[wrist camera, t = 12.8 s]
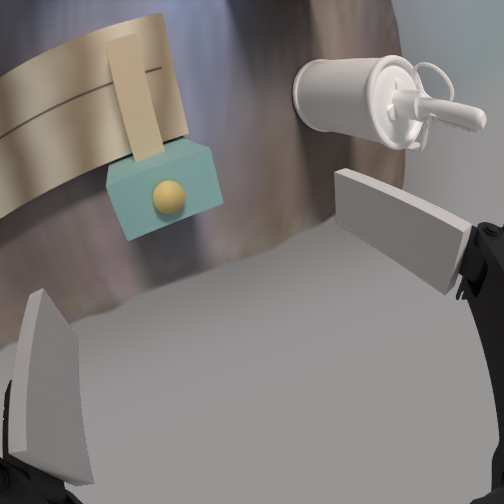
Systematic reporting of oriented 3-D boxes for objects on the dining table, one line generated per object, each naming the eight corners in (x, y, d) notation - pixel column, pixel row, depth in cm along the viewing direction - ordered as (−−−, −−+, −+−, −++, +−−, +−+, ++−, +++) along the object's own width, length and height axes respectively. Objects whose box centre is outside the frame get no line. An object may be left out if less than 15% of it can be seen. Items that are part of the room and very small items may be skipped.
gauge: (122, 199, 25) (128, 246, 17) (83, 65, 18) (64, 35, 9) (188, 173, 27) (227, 207, 19) (156, 42, 19) (182, 2, 11)
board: (-59, 257, 16) (-68, 268, 14) (-93, 166, 9) (-105, 172, 7) (182, 131, 25) (189, 133, 23) (157, 20, 18) (162, 12, 16)
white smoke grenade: (276, 88, 27) (453, 100, 11) (325, 46, 26) (485, 46, 11) (324, 153, 33) (470, 211, 18) (364, 110, 33) (502, 145, 17)
